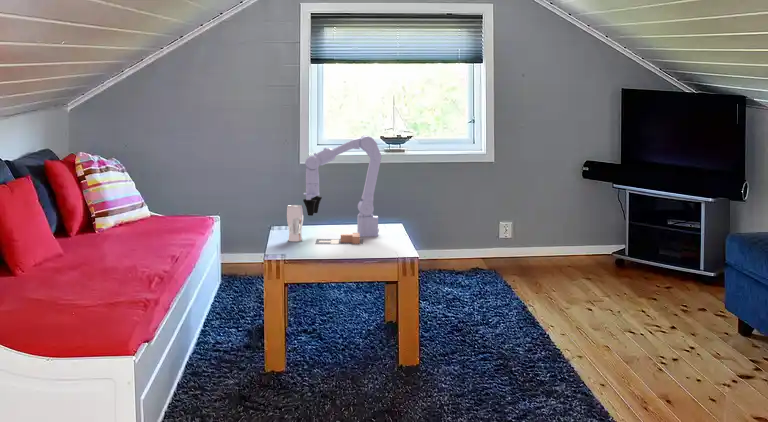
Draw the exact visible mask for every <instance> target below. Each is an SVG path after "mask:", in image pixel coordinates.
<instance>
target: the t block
mask: <svg viewBox="0 0 768 422" xmlns="http://www.w3.org/2000/svg"><path fill="white" fill-rule="evenodd" d="M340 239H341V242H352V244H351V245H361V244H360V239H361V236H360V233H357V232H352V233H341V234H340Z"/></svg>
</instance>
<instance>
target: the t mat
mask: <svg viewBox="0 0 768 422" xmlns="http://www.w3.org/2000/svg"><path fill="white" fill-rule="evenodd" d="M314 244H315V245H353V244H352V242H341V238H316V240H315V243H314ZM359 245H364V238H360V244H359Z"/></svg>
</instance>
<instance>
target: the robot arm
mask: <svg viewBox="0 0 768 422" xmlns="http://www.w3.org/2000/svg"><path fill="white" fill-rule="evenodd" d="M353 149H354V150H360V149H361V150H362V151H364V152H365V153H366V155H367V156H368V158H369V163H368V166H367V167H368V168H367V171H366V176H365V182H364V187H363V191H362V195H361V198H360V200H359V202H358V203H357V210H358V211H359V212H358V214H357V216H356V217H357V218H356V219H357V223H356V224H357V225H356V226H357V229H356V230H357V231H356V233H360V237H378V236H379V231H380V228H379V216H378V215H374V210H375V208H374V195H375V191H376V186H377V181H378V176H379V170H380V166H381V162H382V161H381V160H382V154H381V150H380V149H379V146H378V143H377V141H376V140H375V139H374V138H373V137H371V136H370V135H362V136H361V137H360V136H359V137H356V138H353V139H351V140H349V141H346V142H344V143H343V144H341V145H338V146H337V147H335V148H331V147H324V148H323V150H320V151H319V152H317V153H316V152H314V153H313V155H309V156H307V158H306V159H305V162H304V165H305V167H306V168H305V192H303V196H305V198H304V199H303V200H302V201H303V203H304V206H305V208H306V212H307V215H308V216H307V217H310V216H314V214H317V213H319V207H320V203H321V200H322V199H323V197H322V196H320V194H321V193H320V173H319V167H320V166H324V165H326V164H329V163H330V162H333V161H335V159H336V157H337V156H338V155H340V154H343V153H345V152H348V151H350V150H353Z"/></svg>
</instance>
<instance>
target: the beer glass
mask: <svg viewBox="0 0 768 422" xmlns="http://www.w3.org/2000/svg"><path fill="white" fill-rule="evenodd" d="M286 207H287V208H286V220H287V227H288V239H287V241H288V242H289V243H290V242H291V243H300V242H303V235H302V230H303V223H304V208H303V205H302V204H290V205H287V206H286Z"/></svg>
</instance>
